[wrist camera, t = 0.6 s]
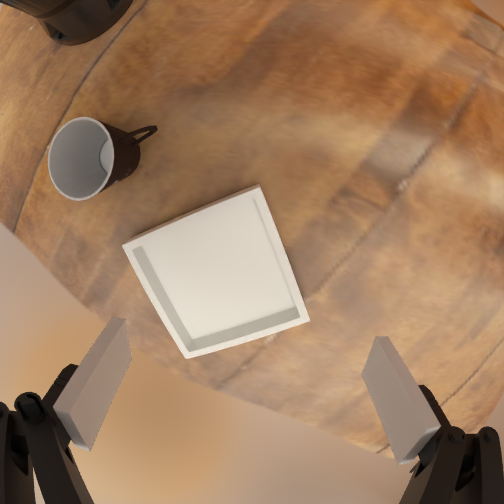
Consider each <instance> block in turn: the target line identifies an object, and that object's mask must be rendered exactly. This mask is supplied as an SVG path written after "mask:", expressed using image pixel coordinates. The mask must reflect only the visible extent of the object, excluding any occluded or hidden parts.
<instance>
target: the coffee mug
mask: <svg viewBox="0 0 504 504" xmlns="http://www.w3.org/2000/svg"><path fill="white" fill-rule="evenodd" d="M146 131H149V132H148V133H147V134H145V135H144V136H142V137H141V138H139V139H137V140H136V139H135V138H134V137H133V136H135V135H137V134H140V133H143V132H146ZM156 131H157V126H147V127H144V128H141V129H138V130H135V131H133V132H130V133H126V132H124V131H122V130H119V129H117V128H115V127H113V126H110V125H108V124H105V123H103V122H101V121H98V120H96V119H93V118H90V117H78V118H74V119H72V120H70V121H68V122H67V123H66V124H64V125H63V126H62V127H61V128H60V129H59V130H58V132H57V133H56V135H55V136H54V138H53V140H52V143H51V145H50V149H49V153H48V171H49V175H50V178H51V181H52V183H53V185H54V186H55V188H56V189H57V190H58V192H59V193H60V194H62V195H63V196H64V197H66V198H68V199H71V200H76V201H81V200H86V199H89V198H91V197H93V196H95V195H96V194H98V193H100V192H102V191H103V190H105V189H107V188H108V187H110V186H112V185H114V184H115V183H117V182H119V181H121V180H123V179H124V178H126V177H128V176H130V175H131V174H132V173H133V172H134V171H135V169H136V168H137V166H138V163H139V160H140V148H139V145H138V143H140V142H141V141H143V140H145V139H146V138H148V137H149V136H151V135H152V134H154V133H155V132H156Z"/></svg>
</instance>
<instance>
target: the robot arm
mask: <svg viewBox="0 0 504 504" xmlns="http://www.w3.org/2000/svg"><path fill="white" fill-rule="evenodd" d="M131 2H132V0H0V3H3V4H5V5H8V6H10V7H13V8H15V9H18V10H20V11H22V12H24V13H27V14H29V15H31V16H33V17H35V18H37V19H38V21H39V22H40V24H41V25H42V27H43V28H44V30H45V31H46V33H47V34H48V35H49V37H51V38H52V39H53V40H55V41H57V42H60V43H62V44H65V45H77V44H81V43H85V42H87V41H90V40H92V39H94V38H96V37H97V36H99V35H101V34H102V33H104V32H105V31H106V30H108V29H109V28H110V27H111V26H112V25H114V24H115V23H116V22H117V21H118V20H119V19H120V18H121V16H122V15H123V14H124V13H125V11H126V10H127V9H128V7H129V6H130V4H131ZM131 361H132V355H131V350H130V344H129V338H128V331H127V325H126V319H123V318H117V317H112V318H111V320H110V321H109V323H108V324H107V325H106V327H105V328H104V330H103V331H102V332H101V334H100V335H99V337H98V338H97V340H96V341H95V343H94V344H93V345H92V347H91V348H90V350H89V351H88V353H87V354H86V356H85V357H84V359H83V360H82V362H81V363H80V365H79V366H78V365H74V364H70V365H68V366H67V367H65V368H64V369H63V370H62V371H61V373H60V374H59V375H58V378H56V380H55V381H54V384H53V385H52V386H51V387H50V389H49V391H48V392H47V393H46V395H45V396H44V398H43V399H42V400H41V398H40V396H39V395H37V394H36V393H33V392H25V393H23V394H21V395H19V396H18V397H17V398H16V400H15V403H14V407H15V409H16V410H17V411H10V410H9V409H8V407H7V406H6V404H4V403H3V402H0V504H36V502H35V493H34V479H33V468H34V471H35V474H36V478H37V481H38V484H39V487H40V490H41V493H42V495H43V498H44V501H45V504H94V502H93V500H92V498H91V496H90V494H89V492H88V490H87V488H86V486H85V483H84V481H83V479H82V477H81V475H80V472H79V470H78V468H77V465H76V463H75V460H74V458H73V455H72V453H71V450H70V448H69V447H68V445H69V442H70V440H72V442H73V443H74V445H75V446H76V447H79V448H82V449H84V450H87V451H91V449H92V446H93V444H94V442H95V439H96V437H97V435H98V432H99V430H100V428H101V425H102V423H103V421H104V418H105V416H106V414H107V412H108V409H109V407H110V405H111V403H112V401H113V398H114V396H115V394H116V392H117V390H118V388H119V386H120V384H121V381H122V379H123V377H124V375H125V373H126V371H127V369H128V367H129V365H130V363H131ZM362 377H363V379H364V381H365V384H366V386H367V388H368V391H369V393H370V396H371V398H372V400H373V403H374V405H375V408H376V410H377V413H378V415H379V417H380V420H381V422H382V425H383V427H384V430H385V433H386V435H387V438H388V440H389V443H390V445H391V448H392V451H393V453H394V456H395V459H396V461H397V464H398V465H401V464H405V463H409V462H412V461H413V460H414V459H415V457H416V456H417V455H418V456H419V459H420V460H419V462H418V463H417V464H416V465H415V466H414V467H413V468H412V469H411V471H410V473H412V472H413V471H414V473H413V475H412V477H411V480H410V482H409V484H408V486H407V488H406V490H405V492H404V495H403V497H402V499H401V501H400V503H399V504H504V477H503V476H504V474H503V464H502V455H501V447H500V441H499V436H498V433H497V432H496V430H495V429H493V428H492V427H483V428H481V430H480V431H479V432H478V433H477V434H465V432H464V431H463V430H462V429H460V428H458V427H455V426H451V425H450V423H449V421H448V419H447V418H446V416H445V414H444V412H443V411H442V409H441V407H440V406H439V405H438V402H437V401H436V400H435V397H434V396H433V394H432V392H431V391H430V390H429V389H428V388H427V387H426V386H424V385H417V383H416V381H415V380H414V378H413V376H412V375H411V373H410V371H409V370H408V368H407V366H406V365H405V363H404V361H403V360H402V358H401V357H400V355H399V353H398V352H397V350H396V349H395V347H394V345H393V344H392V342H391V341H390V339H389V338H388V336H381V337H375V340H374V343H373V346H372V348H371V351H370V354H369V356H368V359H367V361H366V364H365V367H364V369H363V372H362ZM414 469H415V470H414Z"/></svg>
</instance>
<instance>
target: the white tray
mask: <svg viewBox="0 0 504 504" xmlns="http://www.w3.org/2000/svg"><path fill="white" fill-rule="evenodd" d="M122 247H123V249H124V251H125V253H126V255H127V257H128V259H129V261H130V263H131V265H132V267H133V269H134V271H135V272H136V274H137V276H138V278H139V280H140V282H141V284H142V286H143V287H144V289H145V291H146V293H147V295H148V297H149V298H150V300H151V302H152V304H153V305H154V307H155V309H156V311H157V312H158V314H159V316H160V318H161V319H162V321H163V323H164V324H165V326H166V328H167V329H168V331H169V333H170V334H171V336H172V338H173V339H174V341H175V343H176V344H177V346H178V347H179V349H180V350H181V352H182V354H183V355H184V357H185V358H186V359H188V358H192V357H196V356H200V355H203V354H207V353H211V352H214V351H218V350H221V349H225V348H228V347H232V346H235V345H238V344H242V343H245V342H248V341H251V340H255V339H258V338H261V337H264V336H267V335H270V334H273V333H276V332H279V331H282V330H285V329H288V328H291V327H294V326H297V325H300V324H303V323H305V322H308V321H310V319H309V316H308V313H307V310H306V307H305V304H304V301H303V298H302V296H301V293H300V290H299V287H298V284H297V282H296V279H295V276H294V273H293V271H292V268H291V265H290V263H289V260H288V257H287V254H286V252H285V249H284V246H283V244H282V241H281V238H280V236H279V233H278V231H277V228H276V225H275V223H274V220H273V217H272V215H271V212H270V210H269V207H268V204H267V202H266V199H265V197H264V194H263V192H262V189H261V187H260V184H257V185H254V186H251V187H249V188H246V189H244V190H241V191H239V192H236V193H234V194H231V195H229V196H226V197H224V198H221V199H219V200H216V201H214V202H211V203H209V204H207V205H204V206H202V207H199V208H197V209H195V210H192V211H190V212H188V213H185V214H183V215H181V216H178V217H176V218H174V219H171V220H169V221H167V222H165V223H162V224H160V225H158V226H156V227H153V228H151V229H149V230H147V231H145V232H142V233H140V234H138V235H136V236H134V237H132V238H131V239H130V240H129V241H127V242H126V243H125V244H123V245H122Z"/></svg>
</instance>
